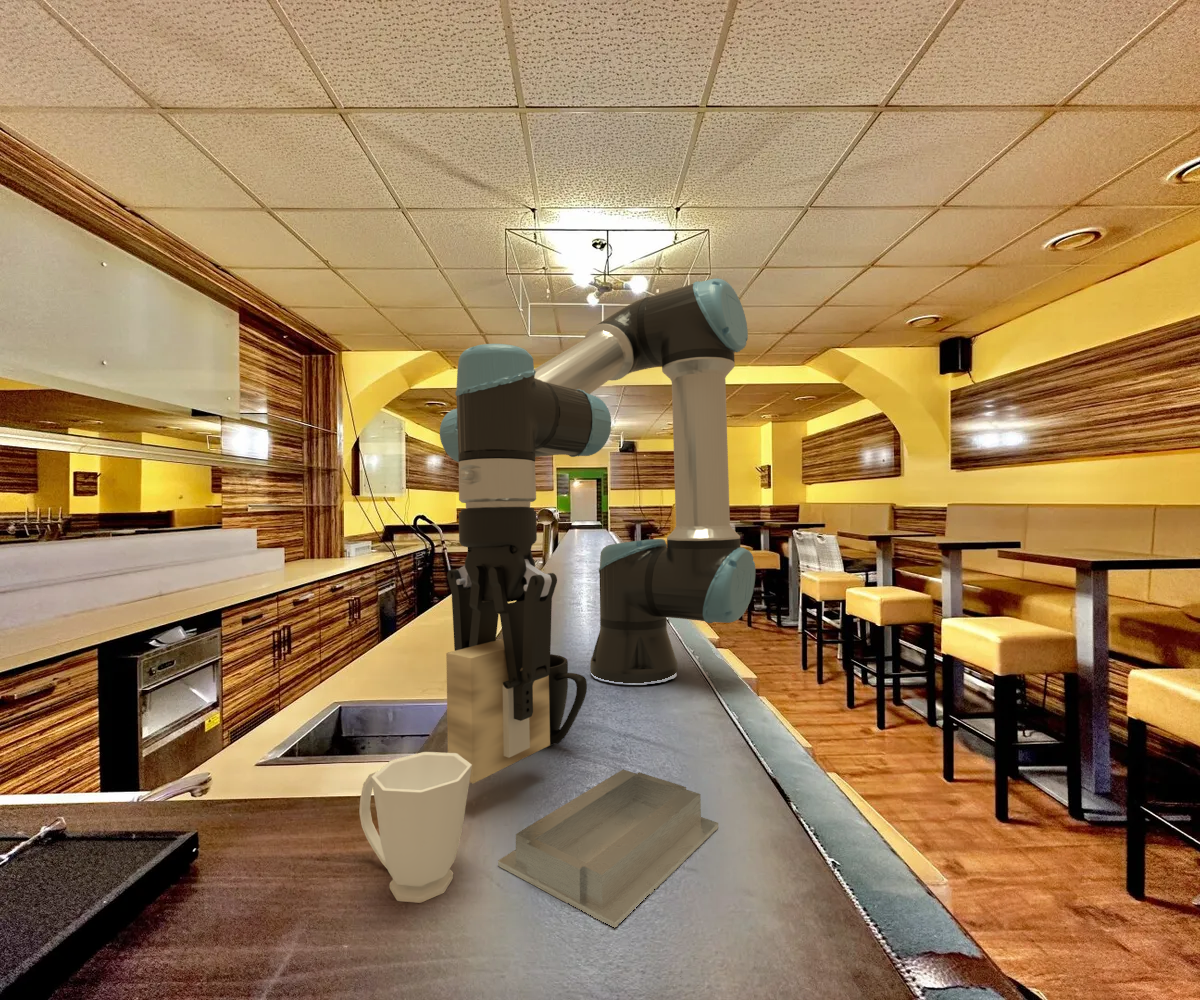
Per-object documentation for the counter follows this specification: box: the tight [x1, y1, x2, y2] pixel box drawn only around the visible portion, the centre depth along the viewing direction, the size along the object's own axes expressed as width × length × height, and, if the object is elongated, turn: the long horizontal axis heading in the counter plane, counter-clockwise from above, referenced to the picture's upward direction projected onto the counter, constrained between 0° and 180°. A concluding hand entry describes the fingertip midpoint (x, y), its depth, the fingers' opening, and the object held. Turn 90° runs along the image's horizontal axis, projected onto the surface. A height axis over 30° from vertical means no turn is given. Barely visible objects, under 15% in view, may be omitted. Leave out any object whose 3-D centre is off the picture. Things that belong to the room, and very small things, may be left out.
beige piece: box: [497, 769, 719, 929], centre depth 45 cm, size 15×11×3 cm
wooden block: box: [445, 638, 550, 785], centre depth 54 cm, size 10×4×11 cm, turn 142°
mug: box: [544, 653, 588, 749], centre depth 66 cm, size 8×12×10 cm
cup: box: [358, 751, 472, 904], centre depth 41 cm, size 7×10×8 cm
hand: (501, 745), depth 54 cm, fingers closed on wooden block, 3 cm apart
